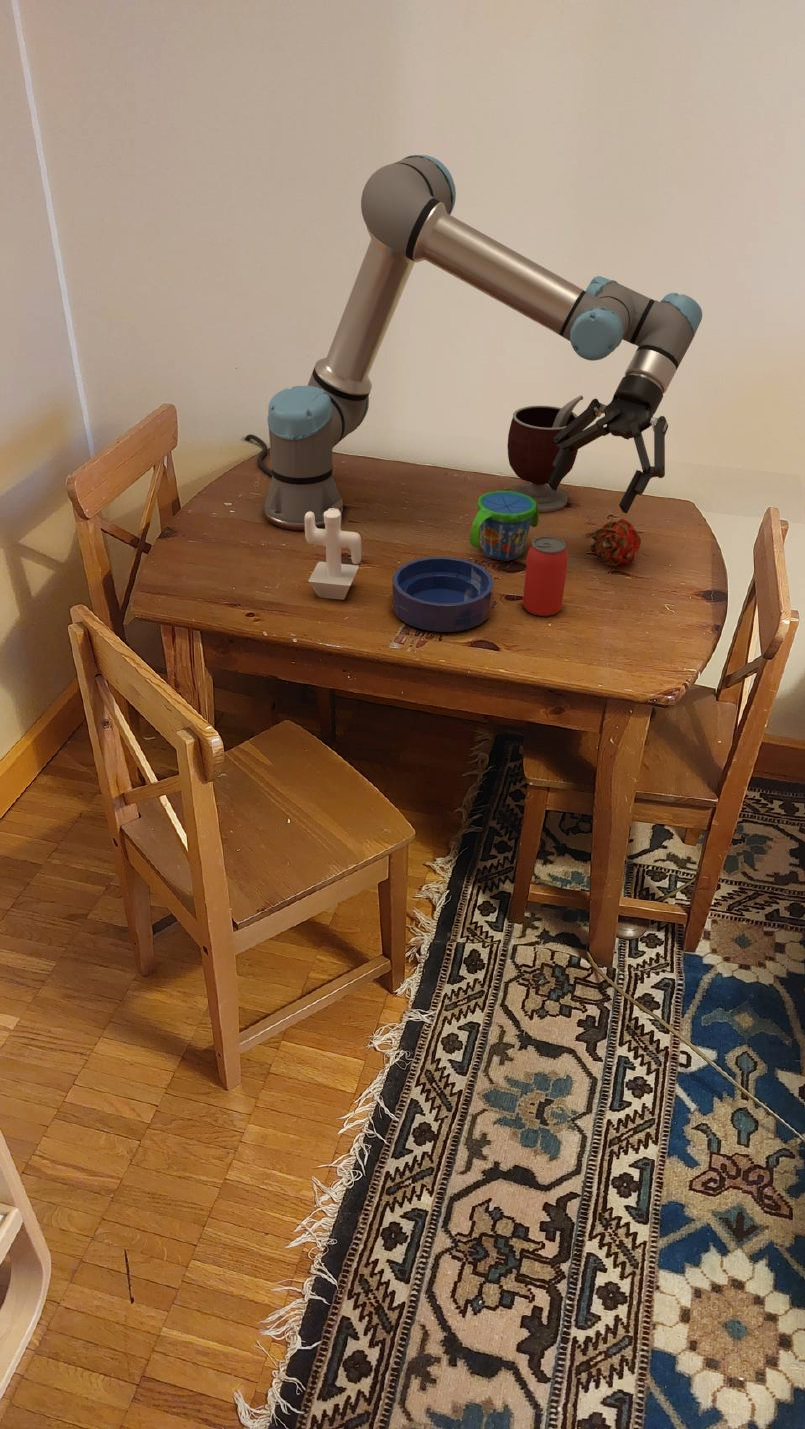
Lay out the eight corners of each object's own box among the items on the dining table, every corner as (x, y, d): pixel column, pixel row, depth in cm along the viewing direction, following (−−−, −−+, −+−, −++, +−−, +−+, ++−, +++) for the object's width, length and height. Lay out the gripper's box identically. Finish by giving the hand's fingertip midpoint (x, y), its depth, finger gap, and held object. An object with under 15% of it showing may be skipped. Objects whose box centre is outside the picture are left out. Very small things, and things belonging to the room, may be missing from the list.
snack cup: (517, 532, 193) (522, 482, 187) (553, 554, 186) (559, 503, 180) (451, 552, 186) (454, 500, 180) (486, 575, 179) (490, 523, 173)
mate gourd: (529, 519, 198) (539, 419, 186) (489, 493, 208) (497, 396, 196) (591, 503, 205) (605, 406, 193) (550, 479, 214) (560, 385, 202)
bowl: (390, 585, 176) (390, 557, 172) (484, 584, 177) (487, 556, 173) (394, 635, 162) (395, 606, 159) (497, 634, 163) (499, 605, 160)
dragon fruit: (603, 584, 181) (609, 563, 191) (647, 563, 177) (651, 543, 187) (581, 543, 178) (588, 524, 189) (624, 521, 175) (630, 503, 185)
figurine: (356, 605, 170) (356, 524, 161) (302, 599, 171) (298, 518, 162) (365, 585, 176) (365, 505, 167) (313, 579, 177) (310, 500, 168)
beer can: (519, 598, 173) (525, 535, 166) (556, 597, 173) (564, 534, 166) (526, 618, 168) (533, 553, 160) (565, 617, 168) (573, 552, 161)
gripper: (717, 414, 165) (659, 529, 164) (585, 381, 177) (530, 487, 177) (709, 390, 158) (649, 509, 158) (572, 357, 171) (516, 468, 170)
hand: (586, 498), depth 167 cm, fingers open, 13 cm apart
